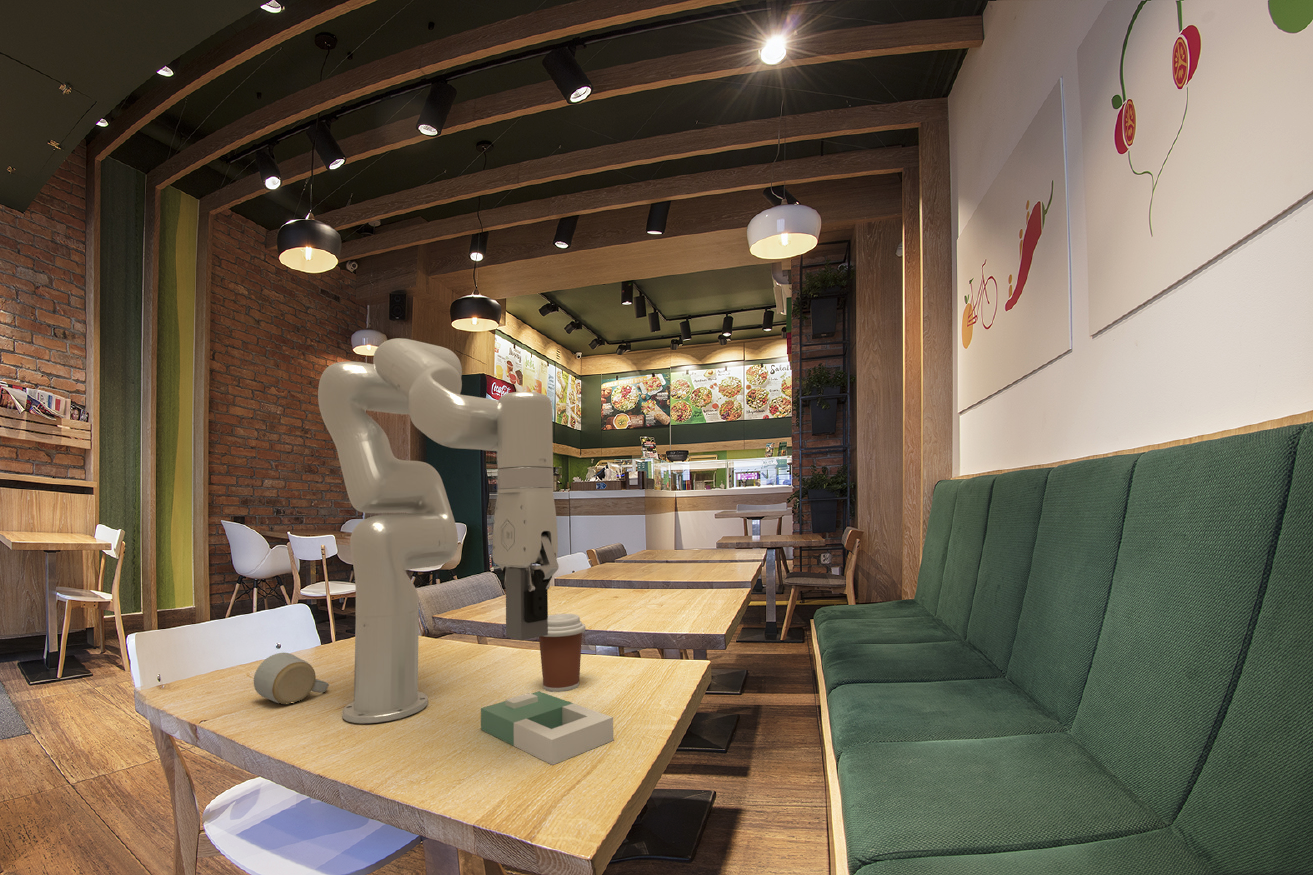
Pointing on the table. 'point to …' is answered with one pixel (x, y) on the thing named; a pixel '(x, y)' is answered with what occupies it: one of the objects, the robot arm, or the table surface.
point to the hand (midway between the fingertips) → (527, 617)
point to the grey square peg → (520, 607)
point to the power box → (547, 726)
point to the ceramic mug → (286, 679)
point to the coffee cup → (561, 652)
